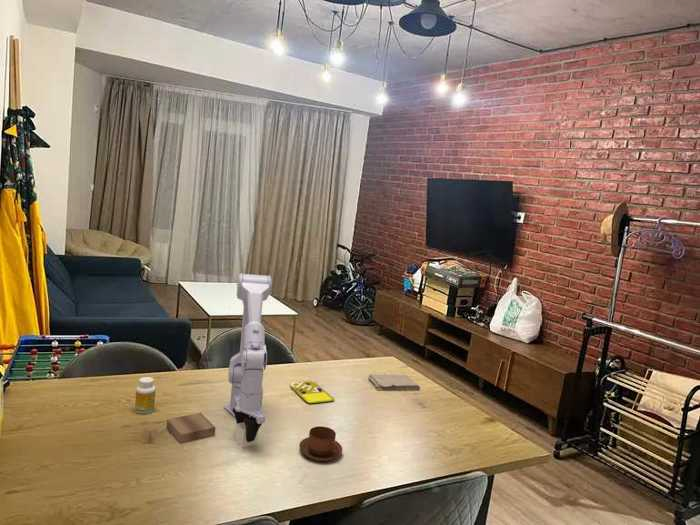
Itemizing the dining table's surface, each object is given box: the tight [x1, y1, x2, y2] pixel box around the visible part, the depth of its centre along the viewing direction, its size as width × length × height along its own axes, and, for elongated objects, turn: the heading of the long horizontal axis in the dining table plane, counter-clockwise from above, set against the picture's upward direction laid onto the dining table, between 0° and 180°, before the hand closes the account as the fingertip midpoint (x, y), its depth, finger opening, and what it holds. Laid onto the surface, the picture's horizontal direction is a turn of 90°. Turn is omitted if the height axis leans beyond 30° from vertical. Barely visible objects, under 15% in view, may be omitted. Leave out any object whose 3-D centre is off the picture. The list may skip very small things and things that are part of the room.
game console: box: [289, 380, 335, 406], centre depth 184 cm, size 18×11×2 cm, turn 32°
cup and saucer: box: [299, 426, 343, 462], centre depth 144 cm, size 12×12×6 cm
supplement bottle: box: [134, 376, 156, 415], centre depth 155 cm, size 5×5×10 cm
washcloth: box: [367, 373, 421, 392], centre depth 201 cm, size 12×18×3 cm, turn 109°
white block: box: [234, 422, 259, 448], centre depth 144 cm, size 4×4×5 cm
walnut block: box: [166, 412, 216, 445], centre depth 146 cm, size 10×10×3 cm
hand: (246, 436), depth 144 cm, fingers closed on white block, 4 cm apart
